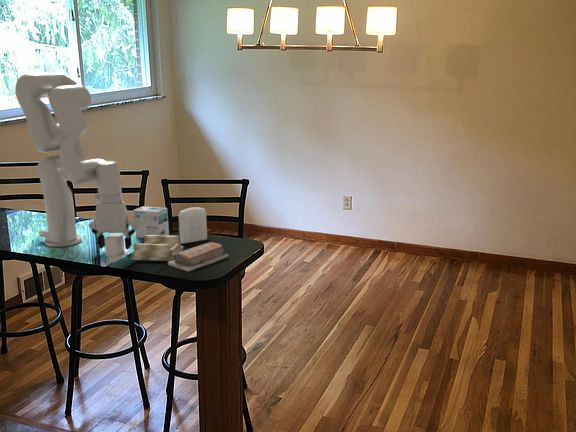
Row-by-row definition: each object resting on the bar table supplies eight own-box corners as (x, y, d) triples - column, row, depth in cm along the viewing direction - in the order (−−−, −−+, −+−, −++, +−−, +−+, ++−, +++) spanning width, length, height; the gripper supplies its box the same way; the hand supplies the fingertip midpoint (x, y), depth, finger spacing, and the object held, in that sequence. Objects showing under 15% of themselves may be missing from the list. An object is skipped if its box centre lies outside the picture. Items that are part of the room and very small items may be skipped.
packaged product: (207, 239, 204) (228, 244, 198) (208, 252, 205) (229, 258, 199) (166, 252, 190) (187, 258, 184) (167, 266, 191) (188, 273, 185)
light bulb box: (169, 235, 224) (167, 207, 221) (160, 240, 218) (158, 211, 215) (145, 233, 228) (142, 205, 225) (135, 237, 221) (132, 209, 219)
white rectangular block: (106, 255, 202) (104, 238, 200) (113, 250, 208) (111, 233, 206) (117, 256, 201) (115, 239, 200) (124, 250, 207) (123, 233, 206)
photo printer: (204, 237, 221) (202, 204, 218) (209, 239, 218) (207, 206, 215) (178, 241, 216) (176, 208, 213) (183, 244, 212) (181, 211, 209)
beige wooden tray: (130, 259, 197) (129, 245, 196) (144, 247, 210) (143, 233, 208) (171, 260, 195) (170, 246, 194) (183, 248, 208) (182, 234, 207)
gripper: (80, 200, 197) (86, 250, 201) (131, 201, 195) (135, 251, 199) (90, 195, 204) (95, 244, 209) (139, 196, 202) (143, 245, 206)
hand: (115, 247), depth 204 cm, fingers open, 8 cm apart
